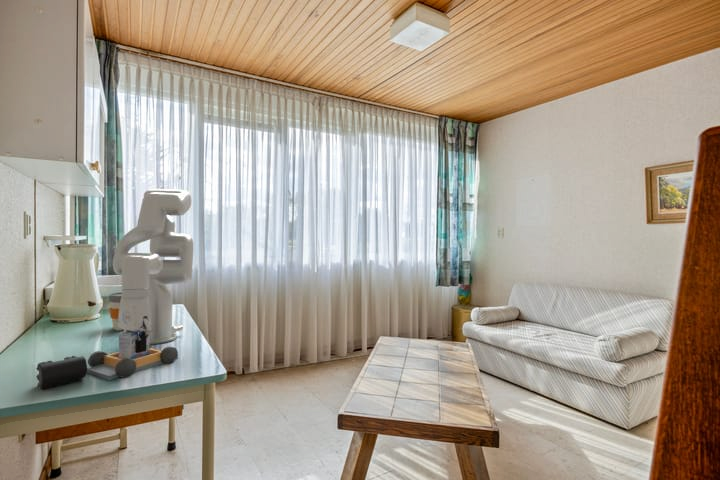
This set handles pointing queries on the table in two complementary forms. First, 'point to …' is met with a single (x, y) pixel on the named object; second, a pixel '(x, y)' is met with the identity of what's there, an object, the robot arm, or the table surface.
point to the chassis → (127, 362)
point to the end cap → (61, 371)
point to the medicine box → (131, 345)
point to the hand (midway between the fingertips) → (134, 349)
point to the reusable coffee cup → (115, 308)
